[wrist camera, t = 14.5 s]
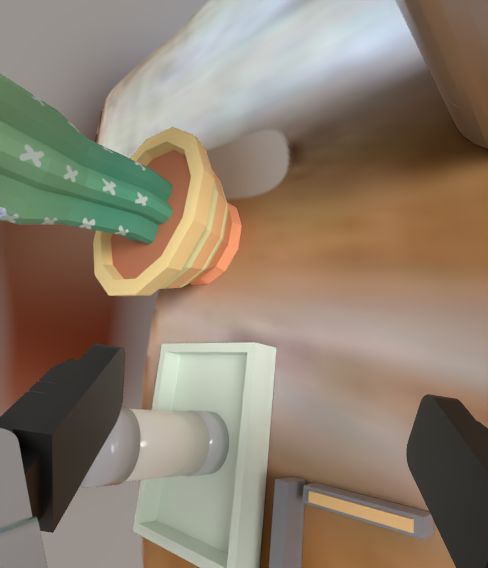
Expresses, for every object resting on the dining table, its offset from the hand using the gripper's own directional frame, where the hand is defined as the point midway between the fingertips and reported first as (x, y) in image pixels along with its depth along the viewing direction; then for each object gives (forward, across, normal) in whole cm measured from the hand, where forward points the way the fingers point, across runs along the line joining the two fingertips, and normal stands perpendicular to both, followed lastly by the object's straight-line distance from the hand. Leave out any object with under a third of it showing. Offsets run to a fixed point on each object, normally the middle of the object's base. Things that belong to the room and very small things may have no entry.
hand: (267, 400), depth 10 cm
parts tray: (+17, +2, +16) cm, 23 cm away
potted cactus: (+29, +5, +2) cm, 30 cm away
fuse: (+16, +2, +15) cm, 23 cm away
